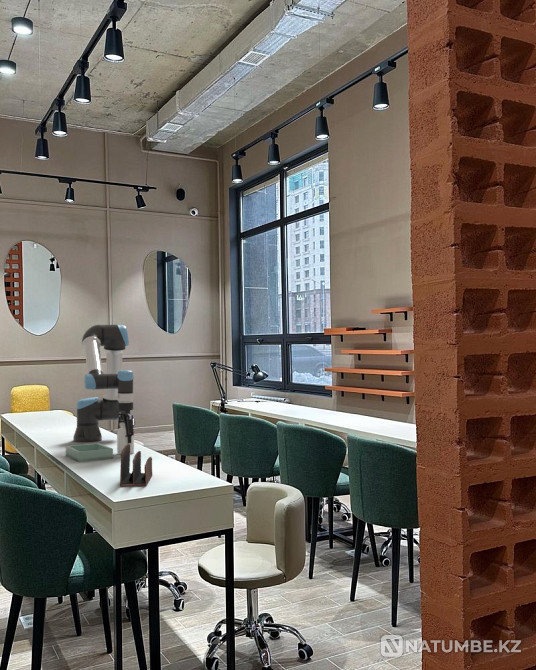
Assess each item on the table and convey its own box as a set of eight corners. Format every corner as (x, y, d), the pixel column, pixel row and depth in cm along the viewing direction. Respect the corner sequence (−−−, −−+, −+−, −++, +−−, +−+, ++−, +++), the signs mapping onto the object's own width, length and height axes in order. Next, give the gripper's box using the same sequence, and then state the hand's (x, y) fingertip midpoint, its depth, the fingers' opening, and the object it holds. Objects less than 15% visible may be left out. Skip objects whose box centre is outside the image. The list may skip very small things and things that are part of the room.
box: (66, 455, 311) (66, 446, 311) (98, 452, 320) (98, 443, 320) (78, 462, 294) (78, 452, 294) (112, 458, 303) (112, 448, 303)
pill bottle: (113, 453, 315) (113, 423, 315) (124, 451, 322) (124, 421, 322) (126, 455, 311) (126, 423, 312) (137, 452, 319) (137, 422, 319)
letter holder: (119, 487, 244) (119, 449, 244) (127, 476, 263) (127, 441, 264) (146, 486, 244) (146, 449, 244) (152, 476, 264) (152, 441, 264)
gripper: (110, 400, 324) (110, 446, 323) (125, 404, 306) (125, 452, 306) (125, 400, 328) (125, 445, 328) (140, 403, 311) (140, 450, 310)
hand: (125, 448), depth 317 cm, fingers closed on pill bottle, 8 cm apart
